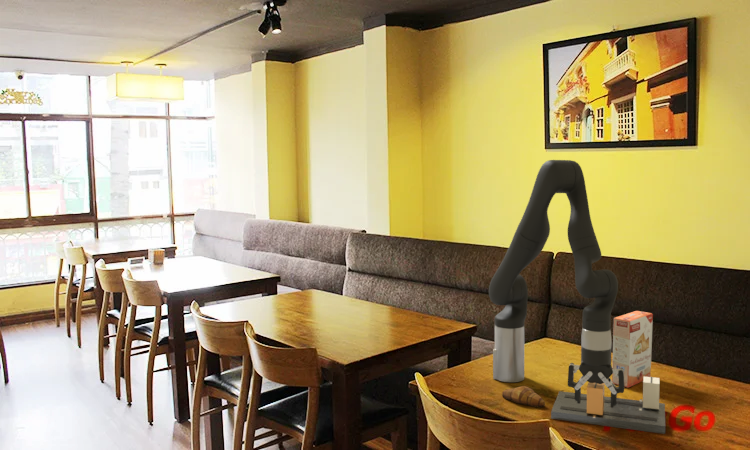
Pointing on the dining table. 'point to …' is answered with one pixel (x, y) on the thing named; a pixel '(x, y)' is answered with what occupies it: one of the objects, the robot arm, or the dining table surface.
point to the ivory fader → (651, 392)
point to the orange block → (595, 398)
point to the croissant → (524, 396)
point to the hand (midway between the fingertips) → (595, 404)
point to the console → (610, 413)
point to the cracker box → (632, 346)
